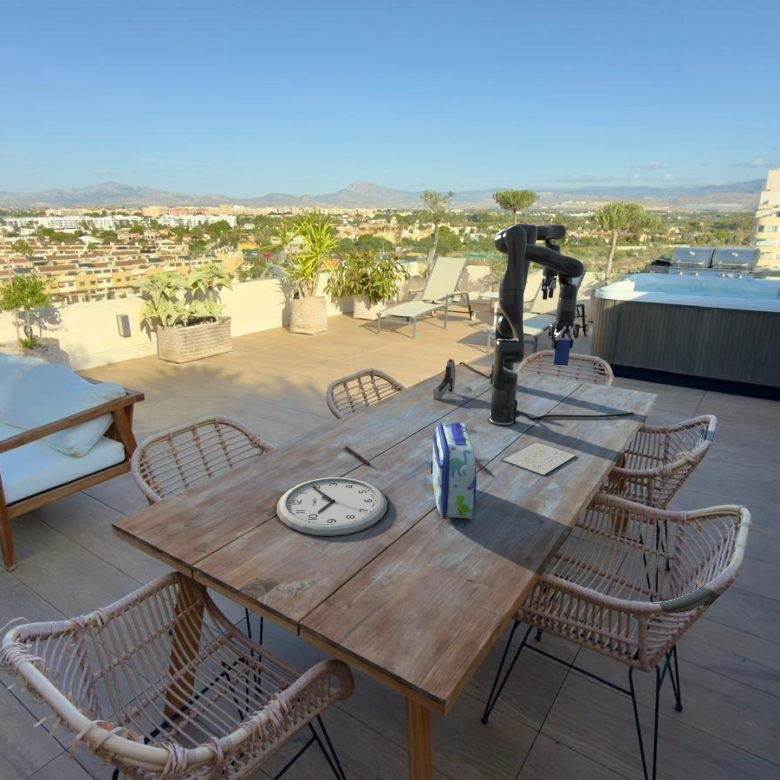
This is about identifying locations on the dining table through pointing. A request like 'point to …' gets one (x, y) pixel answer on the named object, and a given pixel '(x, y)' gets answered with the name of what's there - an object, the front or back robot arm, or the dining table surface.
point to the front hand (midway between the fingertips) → (561, 348)
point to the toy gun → (446, 381)
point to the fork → (481, 466)
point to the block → (562, 352)
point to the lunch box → (454, 471)
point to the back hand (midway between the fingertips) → (547, 298)
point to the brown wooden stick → (357, 455)
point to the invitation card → (539, 458)
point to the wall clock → (331, 506)
